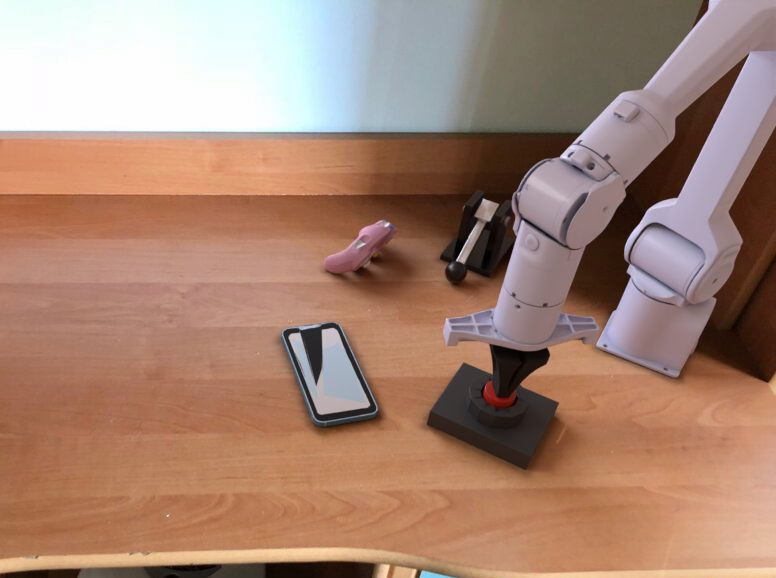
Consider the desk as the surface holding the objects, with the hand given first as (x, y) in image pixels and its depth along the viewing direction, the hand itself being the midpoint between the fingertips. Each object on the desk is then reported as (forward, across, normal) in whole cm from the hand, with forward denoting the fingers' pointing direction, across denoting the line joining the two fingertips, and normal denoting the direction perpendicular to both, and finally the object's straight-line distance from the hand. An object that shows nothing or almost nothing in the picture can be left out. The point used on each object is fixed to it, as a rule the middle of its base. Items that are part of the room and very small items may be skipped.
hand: (500, 391), depth 82 cm
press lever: (+2, -4, -28) cm, 28 cm away
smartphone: (+5, +17, -7) cm, 19 cm away
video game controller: (+5, +10, -28) cm, 31 cm away
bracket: (+5, -6, -30) cm, 31 cm away
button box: (+5, 0, 0) cm, 5 cm away
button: (+2, 0, 0) cm, 2 cm away
